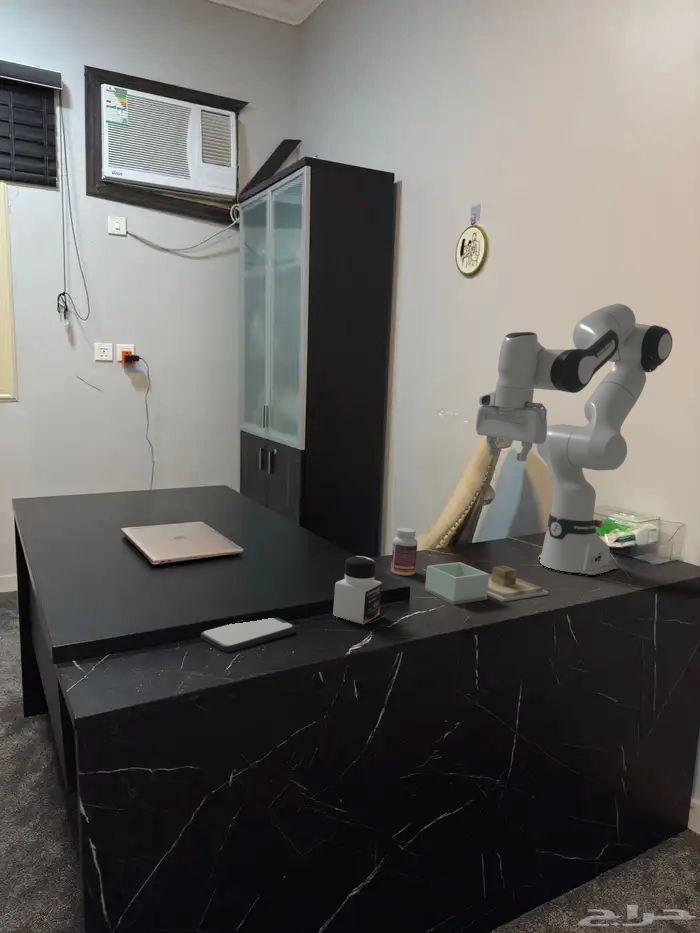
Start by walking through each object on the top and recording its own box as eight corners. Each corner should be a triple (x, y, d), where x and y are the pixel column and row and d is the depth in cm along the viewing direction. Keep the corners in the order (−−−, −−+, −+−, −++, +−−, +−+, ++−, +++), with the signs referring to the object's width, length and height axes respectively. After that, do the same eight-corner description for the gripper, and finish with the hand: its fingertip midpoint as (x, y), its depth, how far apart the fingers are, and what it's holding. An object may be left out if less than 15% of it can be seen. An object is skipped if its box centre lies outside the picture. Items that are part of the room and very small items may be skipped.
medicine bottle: (363, 625, 133) (368, 565, 131) (332, 616, 136) (336, 558, 134) (379, 615, 139) (384, 558, 137) (349, 607, 142) (353, 551, 141)
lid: (503, 575, 172) (504, 559, 172) (542, 591, 161) (544, 573, 161) (464, 580, 165) (466, 563, 165) (502, 597, 154) (504, 579, 154)
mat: (502, 576, 174) (503, 574, 174) (548, 594, 161) (548, 591, 161) (458, 582, 166) (458, 579, 166) (502, 601, 153) (502, 599, 153)
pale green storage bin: (457, 586, 162) (459, 562, 161) (486, 599, 154) (489, 573, 153) (424, 590, 157) (427, 565, 156) (453, 604, 149) (455, 578, 148)
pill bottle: (420, 574, 170) (423, 531, 168) (400, 577, 166) (404, 533, 165) (404, 567, 175) (408, 526, 174) (385, 570, 172) (389, 527, 170)
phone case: (226, 656, 115) (297, 634, 126) (226, 647, 115) (298, 626, 126) (197, 640, 121) (267, 620, 132) (197, 631, 121) (268, 612, 132)
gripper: (556, 404, 154) (549, 464, 155) (493, 398, 171) (487, 452, 172) (537, 402, 150) (530, 464, 152) (474, 397, 167) (468, 452, 169)
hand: (506, 458), depth 162 cm, fingers open, 8 cm apart
